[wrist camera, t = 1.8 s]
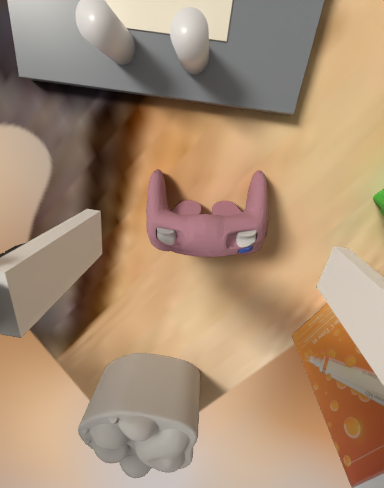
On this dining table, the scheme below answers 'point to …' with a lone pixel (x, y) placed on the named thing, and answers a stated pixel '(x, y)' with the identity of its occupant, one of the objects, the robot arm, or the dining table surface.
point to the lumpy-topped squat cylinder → (144, 414)
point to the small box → (345, 396)
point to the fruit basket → (380, 200)
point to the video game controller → (207, 222)
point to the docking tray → (171, 48)
